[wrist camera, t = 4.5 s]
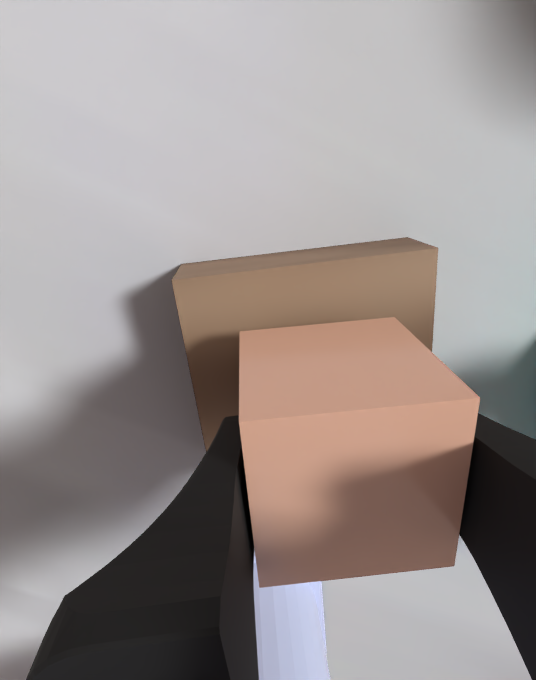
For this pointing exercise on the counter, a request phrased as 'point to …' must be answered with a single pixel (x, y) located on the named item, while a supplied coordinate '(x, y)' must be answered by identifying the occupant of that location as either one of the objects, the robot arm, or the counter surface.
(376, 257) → the slab
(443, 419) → the cube
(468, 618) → the counter surface
